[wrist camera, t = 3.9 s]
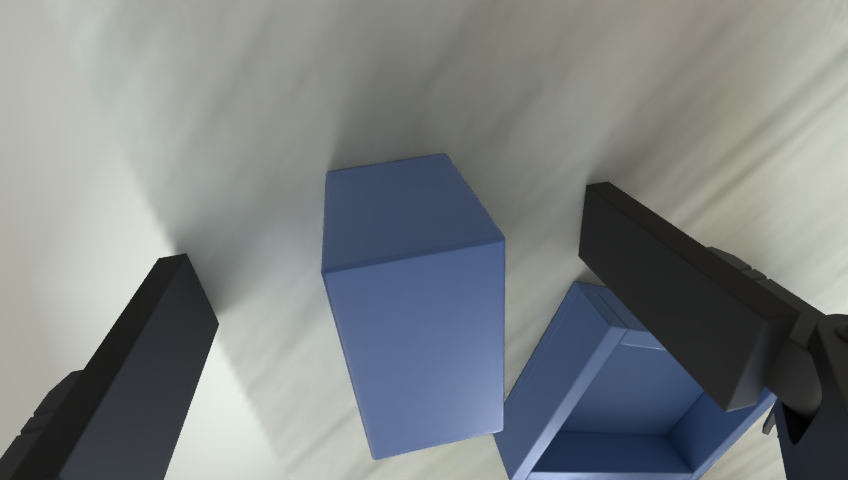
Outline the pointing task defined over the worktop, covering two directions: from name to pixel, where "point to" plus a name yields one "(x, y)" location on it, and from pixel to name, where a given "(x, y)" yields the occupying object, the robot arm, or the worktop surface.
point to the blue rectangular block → (416, 302)
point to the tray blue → (612, 403)
